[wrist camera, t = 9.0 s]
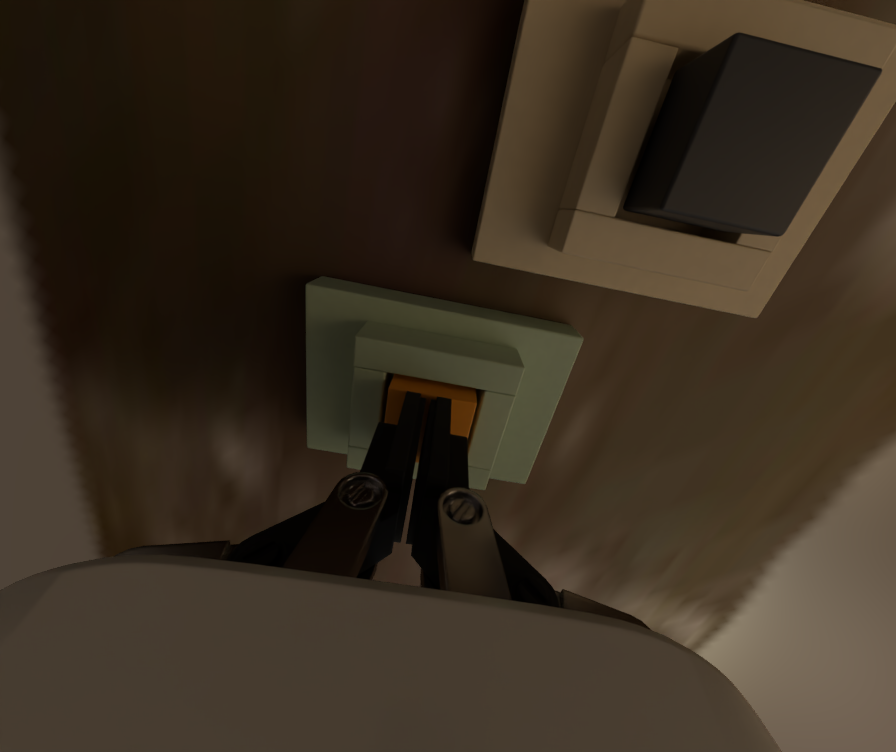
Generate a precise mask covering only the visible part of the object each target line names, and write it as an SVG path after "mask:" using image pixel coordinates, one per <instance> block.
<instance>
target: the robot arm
mask: <svg viewBox="0 0 896 752" xmlns="http://www.w3.org/2000/svg"><path fill="white" fill-rule="evenodd" d="M425 403H426V398H422V397H421V393H416V392H410V391H407V392H406V395H405V399H404V403H403V406H402V410H401V413H400V417H399V420H398V424H397V425H395V424H389V423H383V422H379V423H378V425H377V427H376V430H375V433H374V435H373V438H372V441H371V443H370V446H369V449H368V452H367V454H366V457H365V460H364V462H363V465H362V468H361V470H360V472H356V473H353V474H349V475H347V476H346V477H344V478H342V479H341V480H340V481H339V482H338V483H337V485H336V486H335V488H334V489H333V491H332V492H331V494H330V495H329V497H328V498H327V500H326V501H325V502H323V503H321V504H319V505H317V506H315V507H313V508H310V509H308V510H306V511H304V512H302V513H300V514H298V515H296V516H293V517H291V518H289V519H287V520H285V521H283V522H281V523H278V524H276V525H274V526H272V527H270V528H268V529H266V530H264V531H261V532H259V533H257V534H255V535H253V536H251V537H249V538H248V539H246V540H244V541H243V542H241V543H240V544H235V545H230V540H229V541H213V542H197V543H182V544H166V545H151V546H141V547H136V548H131V549H128V550H126V551H124V552H122V553H119V554H117V555H115V556H114V557H107V558H100V559H95V560H89V561H84V562H79V563H74V564H69V565H65V566H61V567H57V568H54V569H50V570H47V571H44V572H41V573H38V574H35V575H32V576H30V577H27V578H25V579H22V580H20V581H18V582H15V583H13V584H11V585H9V586H8V587H6V588H4V589H2V590H0V752H782V751H781V750H780V748H779V746H778V745H777V743H776V742H775V740H774V739H773V737H772V736H771V735H770V733H769V731H768V730H767V729H766V727H765V725H764V724H763V723H762V721H761V719H760V718H759V717H758V715H757V714H756V713H755V711H754V710H753V708H752V707H751V705H750V704H749V703H748V702H747V700H746V699H745V698H744V697H743V695H742V694H741V693H740V691H739V690H738V689H737V688H736V687H735V686H734V684H733V683H732V682H731V681H730V680H729V679H728V678H727V677H726V676H725V675H724V674H722V673H721V672H720V671H719V670H718V669H717V668H716V667H714V666H713V665H712V664H710V663H709V662H708V661H706V660H705V659H704V658H702V657H701V656H699V655H698V654H696V653H695V652H693V651H692V650H690V649H688V648H686V647H685V646H683V645H681V644H679V643H677V642H675V641H674V640H672V639H670V638H668V637H666V636H664V635H662V634H659V633H657V632H654V631H652V630H651V629H650V628H649V627H648V626H646V625H645V624H644V623H643V622H642V621H641V620H639V619H637V618H635V617H633V616H632V615H629V614H626V613H624V612H621V611H619V610H616V609H613V608H611V607H608V606H606V605H603V604H600V603H598V602H595V601H593V600H590V599H588V598H585V597H582V596H580V595H577V594H575V593H572V592H569V591H567V590H564V589H562V591H561V593H560V592H558V591H555V590H554V589H553V587H552V586H551V585H550V584H549V583H548V581H547V580H546V579H545V578H544V577H543V576H542V575H541V574H540V573H539V572H538V571H537V570H536V569H535V568H533V567H532V566H531V565H530V564H529V563H528V562H527V561H526V560H525V559H524V558H523V557H522V556H521V555H520V554H519V553H518V552H517V551H516V550H515V549H514V548H513V547H512V546H511V545H509V544H508V543H507V542H506V541H505V540H504V539H503V538H502V537H501V536H500V535H499V534H498V533H497V532H496V531H495V530H494V529H493V527H492V523H491V519H490V516H489V512H488V508H487V506H486V504H485V502H484V500H483V499H482V498H481V497H480V496H479V495H478V494H476V493H475V492H474V491H471V490H469V472H468V444H467V437H465V436H459V435H453V434H450V432H451V405H452V399H449V398H444V397H438V396H437V399H436V400H433V399H431V401H430V406H429V411H428V417H427V422H426V427H425V432H424V437H423V442H422V448H421V453H420V458H419V464H418V470H417V477H416V483H415V489H414V496H413V502H412V509H411V515H410V521H409V528H408V534H407V541H406V544H412V552H411V556H412V557H413V558H414V559H415V561H416V562H417V563H418V564H419V566H420V567H421V574H420V581H421V587H416V586H409V585H402V584H395V583H388V582H381V581H374V580H373V577H374V574H375V572H376V569H377V564H378V562H379V561H381V560H382V559H384V558H385V557H387V556H388V555H390V554H391V553H392V548H393V543H394V542H398V543H401V537H402V532H403V527H404V521H405V516H406V511H407V505H408V500H409V495H410V489H411V484H412V479H413V473H414V468H415V462H416V456H417V450H418V444H419V438H420V432H421V426H422V421H423V415H424V409H425Z"/></svg>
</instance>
